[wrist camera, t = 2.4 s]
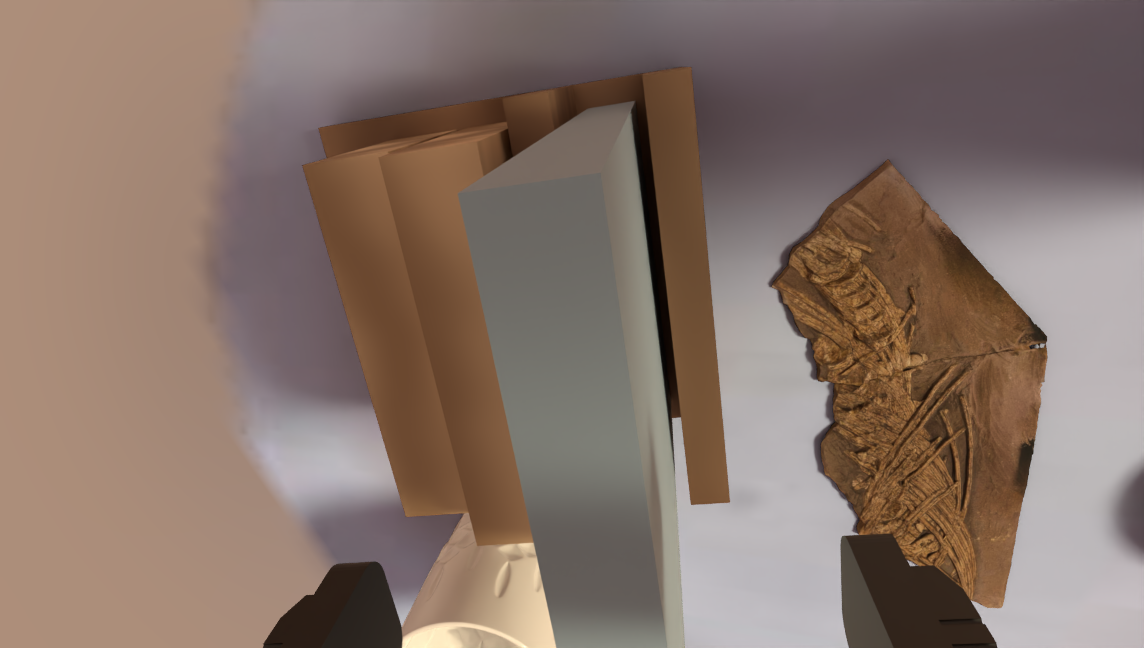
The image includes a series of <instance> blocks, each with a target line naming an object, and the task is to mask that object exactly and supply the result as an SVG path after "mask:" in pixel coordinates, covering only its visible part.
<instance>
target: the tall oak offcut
mask: <svg viewBox="0 0 1144 648" xmlns="http://www.w3.org/2000/svg"><path fill="white" fill-rule="evenodd" d="M378 158H379V162H380V166H381V170H382V174H383V178H384V182H385V186H386V190H387V194H388V198H389V201H390V205H391V209H392V213H393V217H394V221H395V225H396V229H397V233H398V237H399V241H400V245H401V249H402V253H403V257H404V260H405V264H406V268H407V272H408V276H409V280H410V284H411V288H412V292H413V296H414V300H415V304H416V308H417V312H418V316H419V319H420V323H421V327H422V331H423V335H424V339H425V343H426V347H427V351H428V355H429V359H430V363H431V367H432V371H433V375H434V378H435V382H436V386H437V390H438V394H439V398H440V402H441V406H442V410H443V414H444V418H445V422H446V426H447V430H448V433H449V437H450V441H451V445H452V449H453V453H454V457H455V461H456V465H457V469H458V473H459V477H460V481H461V485H462V489H463V492H464V496H465V500H466V504H467V508H468V512H469V516H470V520H471V524H472V528H473V532H474V536H475V540H476V544H477V546H484V545H503V544H521V543H534V542H533V538H532V533H531V529H530V524H529V519H528V515H527V510H526V506H525V501H524V496H523V492H522V487H521V483H520V478H519V473H518V469H517V464H516V460H515V455H514V451H513V446H512V441H511V437H510V432H509V428H508V423H507V418H506V414H505V409H504V405H503V400H502V395H501V391H500V386H499V382H498V377H497V372H496V368H495V363H494V359H493V354H492V349H491V345H490V340H489V336H488V331H487V326H486V322H485V317H484V313H483V308H482V303H481V299H480V294H479V290H478V285H477V280H476V276H475V271H474V267H473V262H472V257H471V253H470V248H469V244H468V239H467V234H466V230H465V225H464V221H463V216H462V211H461V207H460V202H459V198H458V193H459V192H460V191H462V190H464V189H465V188H467V187H468V186H470V185H471V184H473V183H474V182H476V181H477V180H479V179H480V178H482V177H484V176H485V175H487V174H488V173H490V172H491V171H493V170H494V169H496V168H497V167H499V166H500V165H502V164H503V163H505V162H507V161H508V160H510V159H511V158H513V154H512V148H511V143H510V138H509V132H508V127H507V122H501V123H495V124H488V125H482V126H476V127H470V128H466V129H463V130H460V131H456V132H453V133H450V134H447V135H444V136H441V137H438V138H435V139H432V140H429V141H426V142H423V143H420V144H417V145H414V146H411V147H408V148H405V149H402V150H399V151H396V152H393V153H390V154H387V155H384V156H381V157H378Z"/></svg>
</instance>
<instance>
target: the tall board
mask: <svg viewBox="0 0 1144 648" xmlns="http://www.w3.org/2000/svg"><path fill="white" fill-rule="evenodd" d="M458 198H459V202H460V207H461V211H462V216H463V221H464V225H465V230H466V234H467V239H468V244H469V248H470V253H471V257H472V262H473V267H474V271H475V276H476V280H477V285H478V290H479V294H480V299H481V303H482V308H483V313H484V317H485V322H486V326H487V331H488V336H489V340H490V345H491V349H492V354H493V359H494V363H495V368H496V372H497V377H498V382H499V386H500V391H501V395H502V400H503V405H504V409H505V414H506V418H507V423H508V428H509V432H510V437H511V441H512V446H513V451H514V455H515V460H516V464H517V469H518V473H519V478H520V483H521V487H522V492H523V496H524V501H525V506H526V510H527V515H528V519H529V524H530V529H531V533H532V538H533V542H534V547H535V552H536V556H537V561H538V565H539V570H540V575H541V579H542V584H543V588H544V593H545V598H546V602H547V607H548V611H549V616H550V621H551V625H552V630H553V634H554V639H555V644H556V648H685V641H684V623H683V606H682V588H681V570H680V553H679V535H678V517H677V500H676V482H675V464H674V447H673V429H672V411H671V397H670V389H669V380H668V372H667V363H666V355H665V346H664V338H663V329H662V321H661V312H660V304H659V295H658V287H657V279H656V270H655V262H654V253H653V245H652V236H651V228H650V219H649V211H648V202H647V194H646V185H645V177H644V169H643V160H642V152H641V143H640V135H639V126H638V118H637V109H636V101H631V102H625V103H619V104H613V105H606V106H600V107H594V108H588V109H586V110H585V111H583V112H582V113H580V114H579V115H577V116H576V117H574V118H573V119H571V120H570V121H568V122H566V123H565V124H563V125H562V126H560V127H559V128H557V129H556V130H554V131H553V132H551V133H550V134H548V135H546V136H545V137H543V138H542V139H540V140H539V141H537V142H536V143H534V144H533V145H531V146H530V147H528V148H527V149H525V150H523V151H522V152H520V153H519V154H517V155H516V156H514V157H513V158H511V159H510V160H508V161H507V162H505V163H503V164H502V165H500V166H499V167H497V168H496V169H494V170H493V171H491V172H490V173H488V174H487V175H485V176H484V177H482V178H480V179H479V180H477V181H476V182H474V183H473V184H471V185H470V186H468V187H467V188H465V189H464V190H462V191H460V192H459V193H458Z"/></svg>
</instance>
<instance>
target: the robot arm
mask: <svg viewBox="0 0 1144 648" xmlns="http://www.w3.org/2000/svg"><path fill="white" fill-rule="evenodd" d="M841 585H842V614H843V622H844V628H845V633H846V638H847V642H848V646H849V648H997V645H996V642H995V640H994V638H993V637H992V635H991V633H990V632H989V630H988V628H987V627H986V625H985V624H983V623H982V620H981V617H980V615H979V614H978V612H977V610H976V609H975V607H974V605H973V604H972V602H971V601H970V599H969V597H968V596H967V594H966V592H965V591H964V589H963V588H962V587H960V586H959V585H958V584H957V583H955V582H954V581H953V580H952V579H950V578H949V577H948V576H947V575H946V574H944V573H943V572H942V571H941V570H939V569H938V568H937V567H936V566H934V565H930V566H910V565H909V563H908V561H907V560H906V558H905V556H904V554H903V552H902V550H901V548H900V546H899V544H898V543H897V541H896V539H895V537H894V536H893V535H892V534H890V533H886V534H869V535H851V536H842V538H841ZM402 642H403V636H402V627H401V624H400V620H399V617H398V614H397V611H396V608H395V605H394V602H393V598H392V595H391V592H390V589H389V586H388V583H387V580H386V577H385V573H384V571H383V568H382V566H381V565H380V564H379V563H378V562H360V563H343V564H336V565H334V566H333V567H332V568H331V569H330V570H329V572H328V573H327V575H326V576H325V578H324V579H323V581H322V583H321V584H320V586H319V587H318V589H317V590H316V592H315V594H314V595H306V596H305V597H304V598H303V599H301V600H300V601H299V602H298V603H297V604H296V605H295V606H293V607H292V608H291V609H290V610H289V611H288V612H287V613H286V614H285V615H283V616H282V617H281V618H280V620H279V621H278V623H277V624H276V626H275V627H274V629H273V630H272V632H271V633H270V635H269V636H268V638H267V639H266V641H265V642H264V646H263V648H402Z"/></svg>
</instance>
